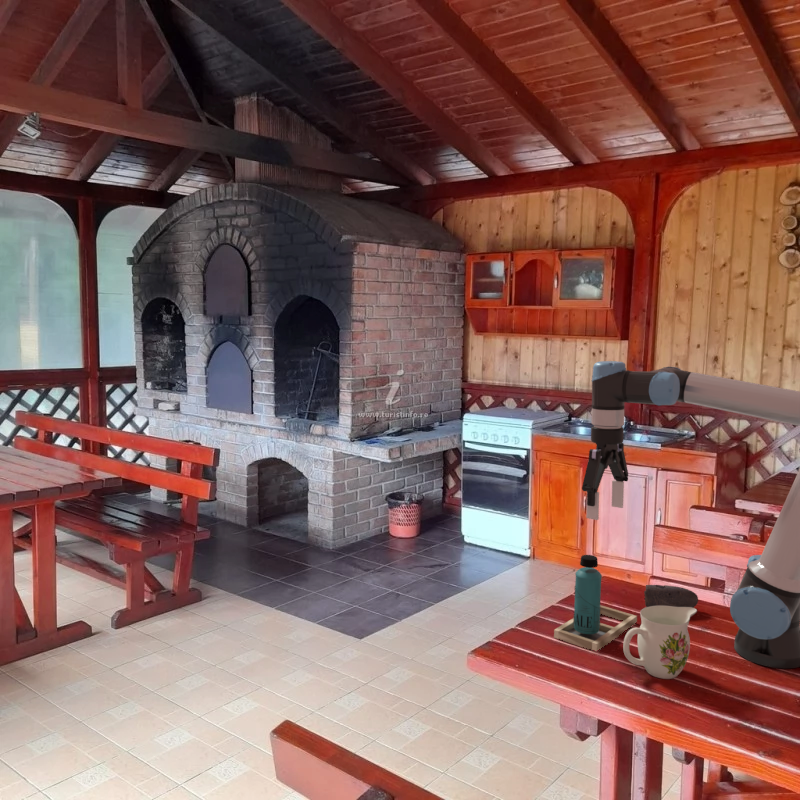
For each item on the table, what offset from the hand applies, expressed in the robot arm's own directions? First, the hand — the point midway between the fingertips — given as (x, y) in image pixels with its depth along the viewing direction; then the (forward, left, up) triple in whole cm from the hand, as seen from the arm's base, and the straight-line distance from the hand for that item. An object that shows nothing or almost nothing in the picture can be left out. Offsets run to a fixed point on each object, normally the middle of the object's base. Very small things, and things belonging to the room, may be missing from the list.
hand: (605, 512), depth 181 cm
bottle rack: (+2, 0, -31) cm, 31 cm away
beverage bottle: (-1, +4, -31) cm, 31 cm away
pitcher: (-20, -6, -31) cm, 37 cm away
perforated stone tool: (+12, -24, -31) cm, 41 cm away
